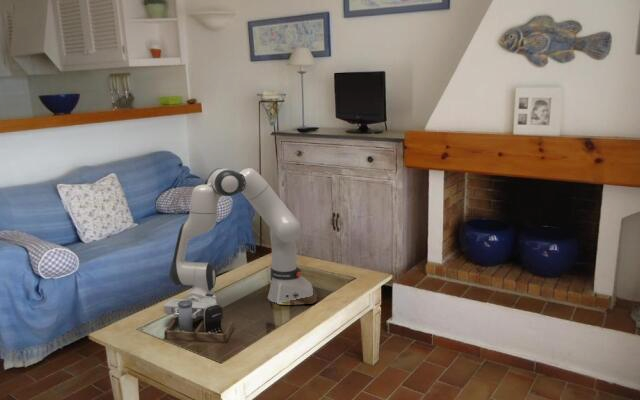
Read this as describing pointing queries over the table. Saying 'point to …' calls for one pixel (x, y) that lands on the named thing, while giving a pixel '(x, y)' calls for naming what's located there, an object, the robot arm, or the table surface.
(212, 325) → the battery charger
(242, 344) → the table surface
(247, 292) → the table surface
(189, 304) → the canister
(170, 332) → the dock
